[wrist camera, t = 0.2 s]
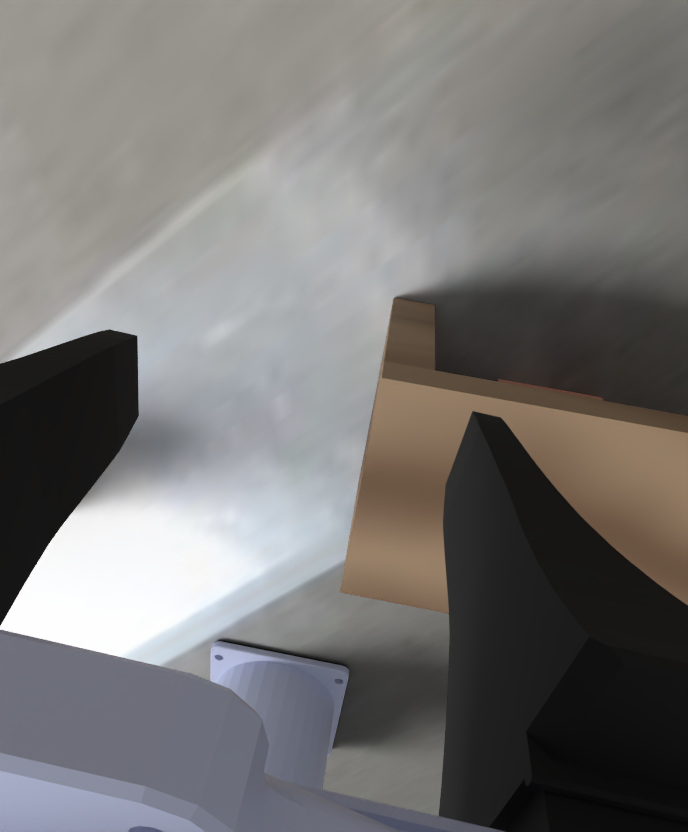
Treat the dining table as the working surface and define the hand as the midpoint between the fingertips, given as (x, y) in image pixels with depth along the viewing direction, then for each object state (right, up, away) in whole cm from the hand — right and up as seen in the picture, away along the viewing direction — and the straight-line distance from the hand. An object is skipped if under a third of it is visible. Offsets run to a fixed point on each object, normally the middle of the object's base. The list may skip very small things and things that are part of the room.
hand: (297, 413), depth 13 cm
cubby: (+9, -1, +11) cm, 14 cm away
